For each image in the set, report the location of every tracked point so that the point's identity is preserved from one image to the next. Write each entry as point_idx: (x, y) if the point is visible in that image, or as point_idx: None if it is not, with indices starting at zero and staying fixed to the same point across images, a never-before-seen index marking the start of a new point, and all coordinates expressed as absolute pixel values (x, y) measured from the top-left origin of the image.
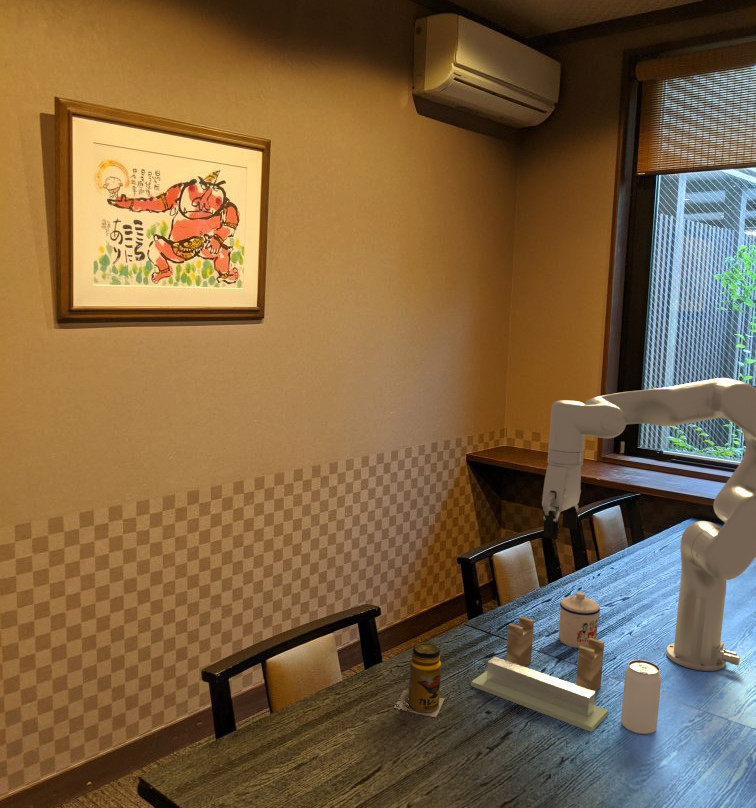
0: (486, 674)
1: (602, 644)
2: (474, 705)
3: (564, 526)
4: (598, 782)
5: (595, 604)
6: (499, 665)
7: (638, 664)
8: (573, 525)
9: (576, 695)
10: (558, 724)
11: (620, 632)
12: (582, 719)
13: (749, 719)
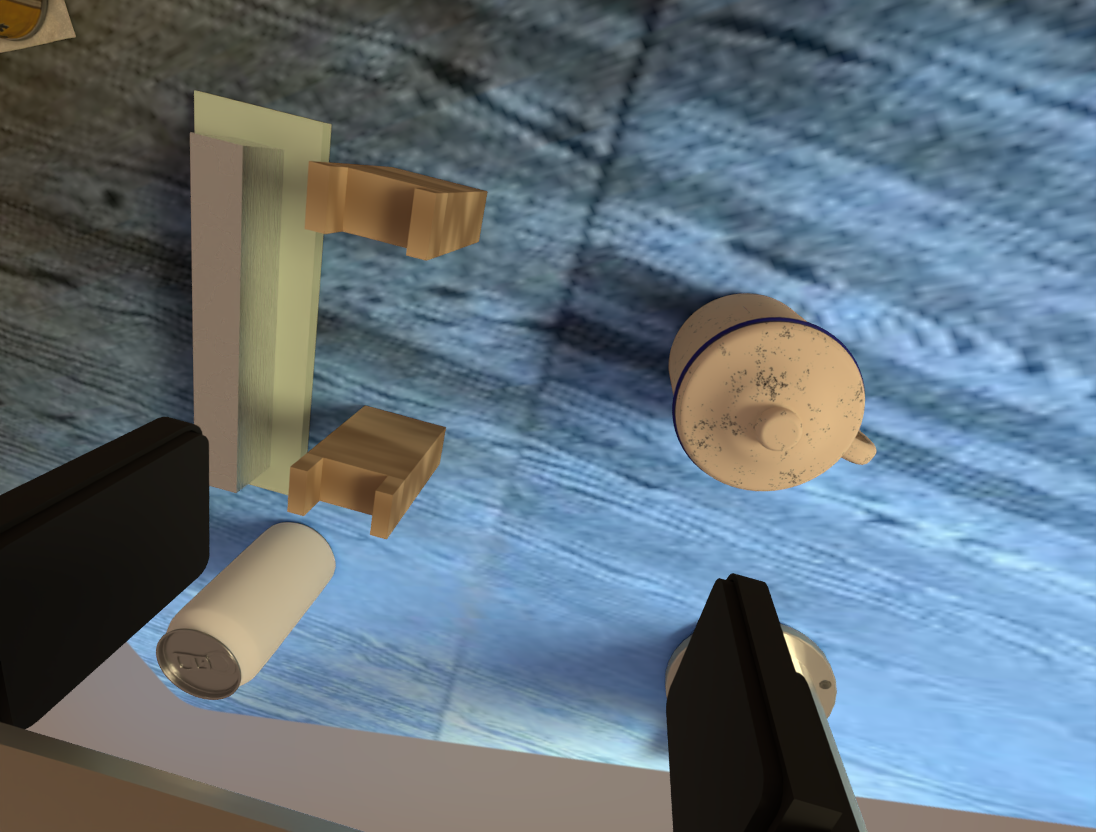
0: (269, 124)
1: (371, 532)
2: (115, 146)
3: (711, 602)
4: None
5: (772, 480)
6: (193, 184)
7: (214, 650)
8: (672, 727)
9: None
10: (186, 389)
11: (877, 491)
12: None
13: (468, 744)
